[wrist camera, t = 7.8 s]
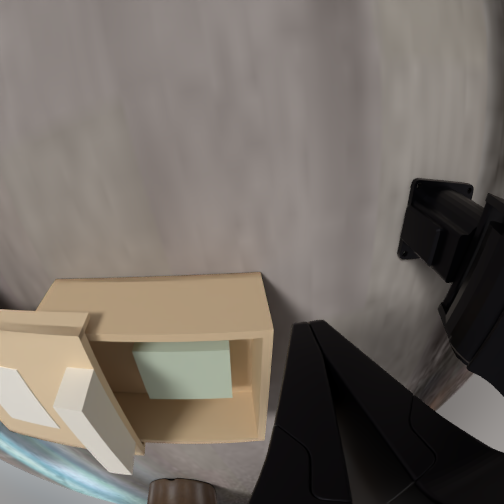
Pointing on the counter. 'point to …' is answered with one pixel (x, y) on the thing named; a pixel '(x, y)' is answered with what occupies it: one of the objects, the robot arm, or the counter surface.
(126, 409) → the mailer box
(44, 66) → the counter surface
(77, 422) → the lid
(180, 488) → the plant pot
